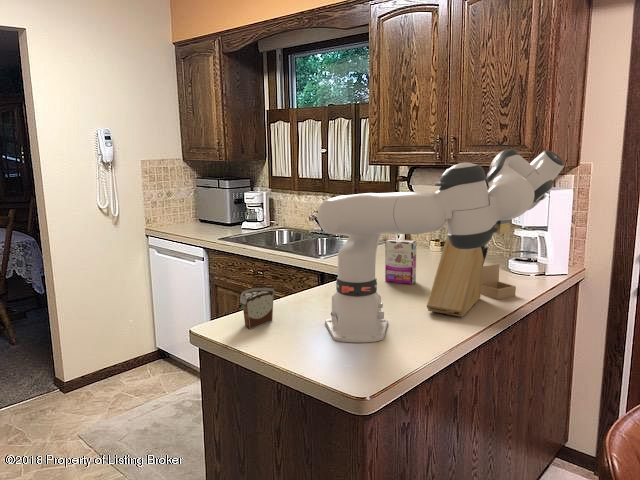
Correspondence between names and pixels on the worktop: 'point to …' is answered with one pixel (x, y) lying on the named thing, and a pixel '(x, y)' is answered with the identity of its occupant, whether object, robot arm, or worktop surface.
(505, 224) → the tea tin
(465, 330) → the worktop surface
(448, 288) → the knife block
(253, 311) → the food container
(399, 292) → the worktop surface
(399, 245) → the candy bar box
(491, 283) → the carton
